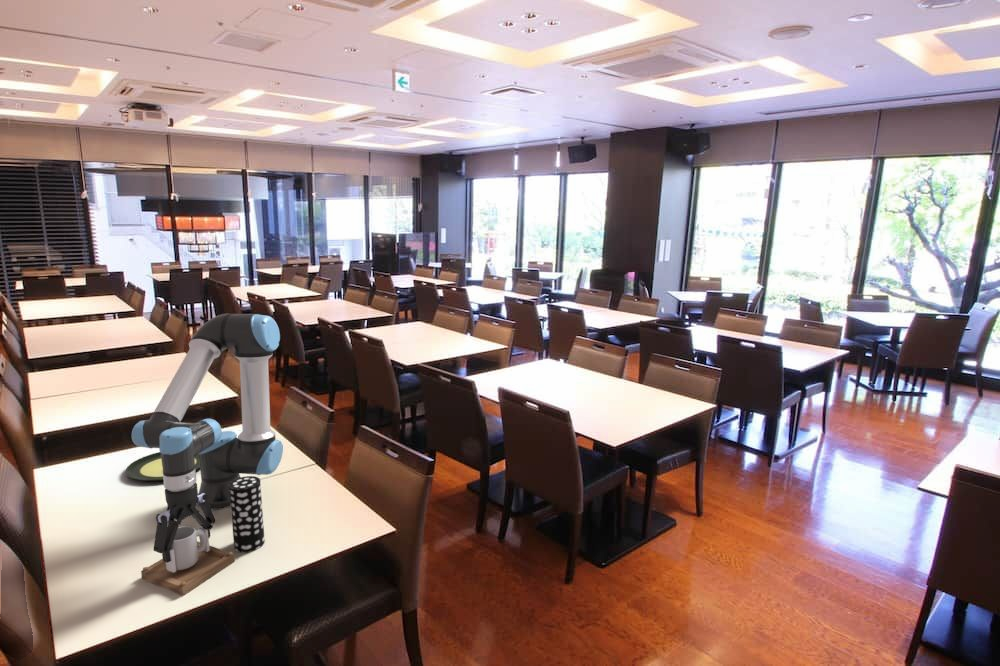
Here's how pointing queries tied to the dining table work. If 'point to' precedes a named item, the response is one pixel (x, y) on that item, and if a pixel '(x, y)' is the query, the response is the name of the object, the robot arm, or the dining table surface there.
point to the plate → (150, 468)
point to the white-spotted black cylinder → (247, 513)
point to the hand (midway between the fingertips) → (188, 560)
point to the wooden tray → (189, 571)
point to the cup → (187, 546)
